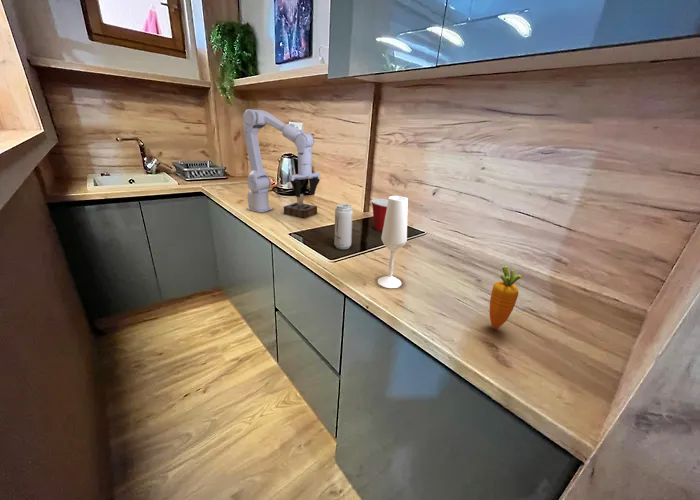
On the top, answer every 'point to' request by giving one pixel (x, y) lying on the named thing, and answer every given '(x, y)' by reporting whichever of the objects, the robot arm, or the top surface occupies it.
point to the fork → (300, 200)
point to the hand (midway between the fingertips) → (305, 195)
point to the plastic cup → (379, 212)
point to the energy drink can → (343, 226)
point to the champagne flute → (394, 234)
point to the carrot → (503, 298)
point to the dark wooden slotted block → (300, 210)
